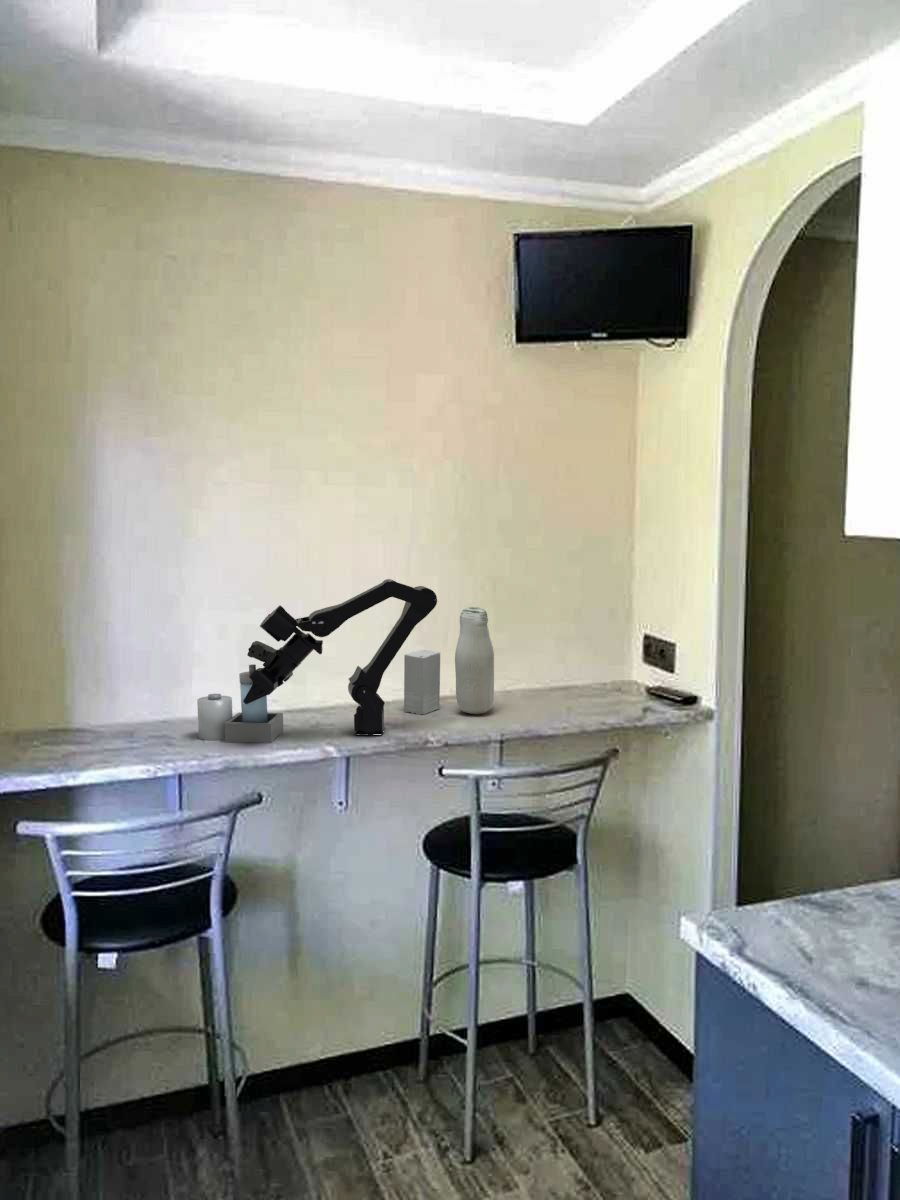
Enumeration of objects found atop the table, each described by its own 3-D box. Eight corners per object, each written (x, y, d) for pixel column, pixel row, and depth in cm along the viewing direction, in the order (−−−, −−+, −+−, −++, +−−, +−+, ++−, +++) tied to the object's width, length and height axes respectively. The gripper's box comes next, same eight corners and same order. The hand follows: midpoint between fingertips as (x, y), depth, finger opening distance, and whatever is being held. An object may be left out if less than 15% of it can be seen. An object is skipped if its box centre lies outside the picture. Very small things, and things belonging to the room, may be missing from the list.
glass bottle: (497, 710, 252) (496, 605, 249) (489, 718, 242) (488, 610, 239) (461, 708, 255) (460, 604, 252) (451, 716, 245) (451, 609, 242)
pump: (271, 724, 229) (268, 662, 227) (264, 730, 222) (261, 667, 221) (246, 724, 229) (243, 662, 227) (238, 730, 223) (235, 667, 221)
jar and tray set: (283, 731, 231) (282, 690, 230) (271, 742, 220) (270, 700, 219) (207, 730, 233) (205, 690, 231) (191, 741, 222) (190, 699, 221)
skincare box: (421, 706, 257) (420, 648, 256) (442, 709, 253) (442, 651, 252) (402, 712, 250) (401, 653, 249) (424, 715, 246) (423, 655, 245)
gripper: (278, 624, 232) (235, 669, 234) (256, 635, 214) (211, 684, 216) (311, 656, 232) (268, 700, 234) (292, 670, 214) (246, 718, 216)
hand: (248, 699), depth 225 cm, fingers closed on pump, 6 cm apart
